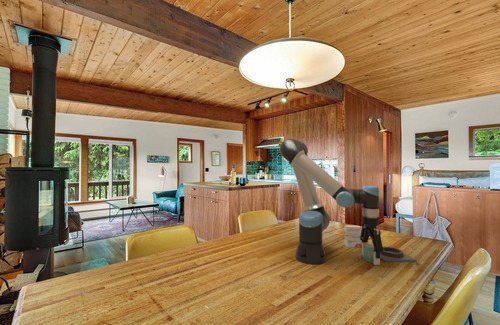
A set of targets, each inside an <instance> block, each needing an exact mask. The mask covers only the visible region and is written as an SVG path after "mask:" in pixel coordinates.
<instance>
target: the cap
mask: <svg viewBox="0 0 500 325" xmlns="http://www.w3.org/2000/svg"><path fill="white" fill-rule="evenodd" d="M374 250H375V249H374V246H373V244H369V243H368V244H365V245H364V256H363V261H364V262H368V263H372V264H374Z"/></svg>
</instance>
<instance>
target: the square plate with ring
mask: <svg viewBox="0 0 500 325" xmlns="http://www.w3.org/2000/svg"><path fill="white" fill-rule="evenodd" d="M382 247H383V252H380V261H383V262H384V263H385V262H386V263H389V262H390V263H398V262H399V263H401V262H402V263H404V262H405V263H409V262H410V263H412V262H413V263H416V262H417V259H416V258H414V257H412V256H410V255H409V254H407V253H405V252H404V251H403V250H402V249H400V248H397V247H392V246H382Z"/></svg>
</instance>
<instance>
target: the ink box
mask: <svg viewBox="0 0 500 325" xmlns="http://www.w3.org/2000/svg"><path fill="white" fill-rule="evenodd" d="M361 231H362V226H359V225H348V224H347V225H344V246H345V247H346V248H360V249H362V240H360V236H361Z"/></svg>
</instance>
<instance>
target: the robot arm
mask: <svg viewBox="0 0 500 325" xmlns="http://www.w3.org/2000/svg"><path fill="white" fill-rule="evenodd" d="M308 151H309V150H308V146H307V144H306V143H305V142H303V141H302V140H299V139H294V138H287V139H285V140H283V141H282V142H281V143H280V146H279V152H280V155H281V156H282V157H283V159H285V160H286V161H287V162H288V164H289V166H290V167H292V169H293V172H294V176H295V177H296V181H297V185H298V188H299V192H300V194H301V198H302V202H303V205H304V208H303V210H302V212H301V213H299V215H298V244H297V248H296V250H295V260H297V261H299V262H301V263H304V264H308V265H320V264H323V263H325V262H326V261H327V258H326V257H327V255H326V252H325V249H324V245H323V232H324V231H325V230H327V228H328V227H329V225H330V221H331V219H330V215H329V213H328V212H327V211H326V208H325V207H324V206H325V205H324V204H322V203H321V202H320V199H319V195H318V193H317V190H316V186H315V184H317V185H318V187H320V188H321V189H322V190H324V191H325V192H326V193H327V194H328V195H329V196H330V197H331V198H333V199H334V200H335V201H336V203H337V205H338V206H339V207H341V208H343V209H345V208H346V209H347V208H350V207H351V206H353V205H354V204H355V205H362V224H361V236H360V240H362V248H361V250H362V251H361V252H362V253H361V255H362V256H363V257H364V245H365V244H369V239H371V242H372V245H373V246H374V249H375V250H374V263H373V265H374V266H380V265H381V259H380V252H383V247H384V246H383V243H382V236H381V230H380V229H377V226H379V225H380V218H379V216H380V189H379V187H378V186H376V185H363V186H362V189H359V188H358V189H355V188H346V187H344V185H342V184H341V183H340V182H339V181H338V180H336V179H335V178H334V177H333V176H332V175H331V174H329V173H328V172H327V171H326V170H324V169H323V168H322V167H321V166H320V165H319V164H317V163H316V162H315V161H314V160H313V159H311V158H310V157H309V155H308V153H309V152H308ZM314 182H315V183H314Z"/></svg>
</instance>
